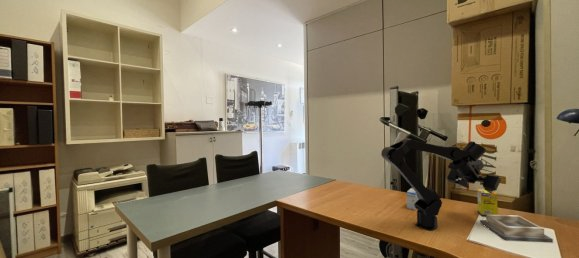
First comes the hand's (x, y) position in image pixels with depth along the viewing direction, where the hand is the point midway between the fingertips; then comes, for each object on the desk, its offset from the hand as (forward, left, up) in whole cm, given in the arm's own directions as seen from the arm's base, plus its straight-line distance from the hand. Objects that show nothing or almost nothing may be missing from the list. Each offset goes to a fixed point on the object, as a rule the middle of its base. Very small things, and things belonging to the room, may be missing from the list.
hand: (479, 190), depth 107 cm
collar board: (+12, -6, -13) cm, 19 cm away
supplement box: (+1, +7, -13) cm, 15 cm away
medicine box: (-26, -7, -13) cm, 30 cm away
